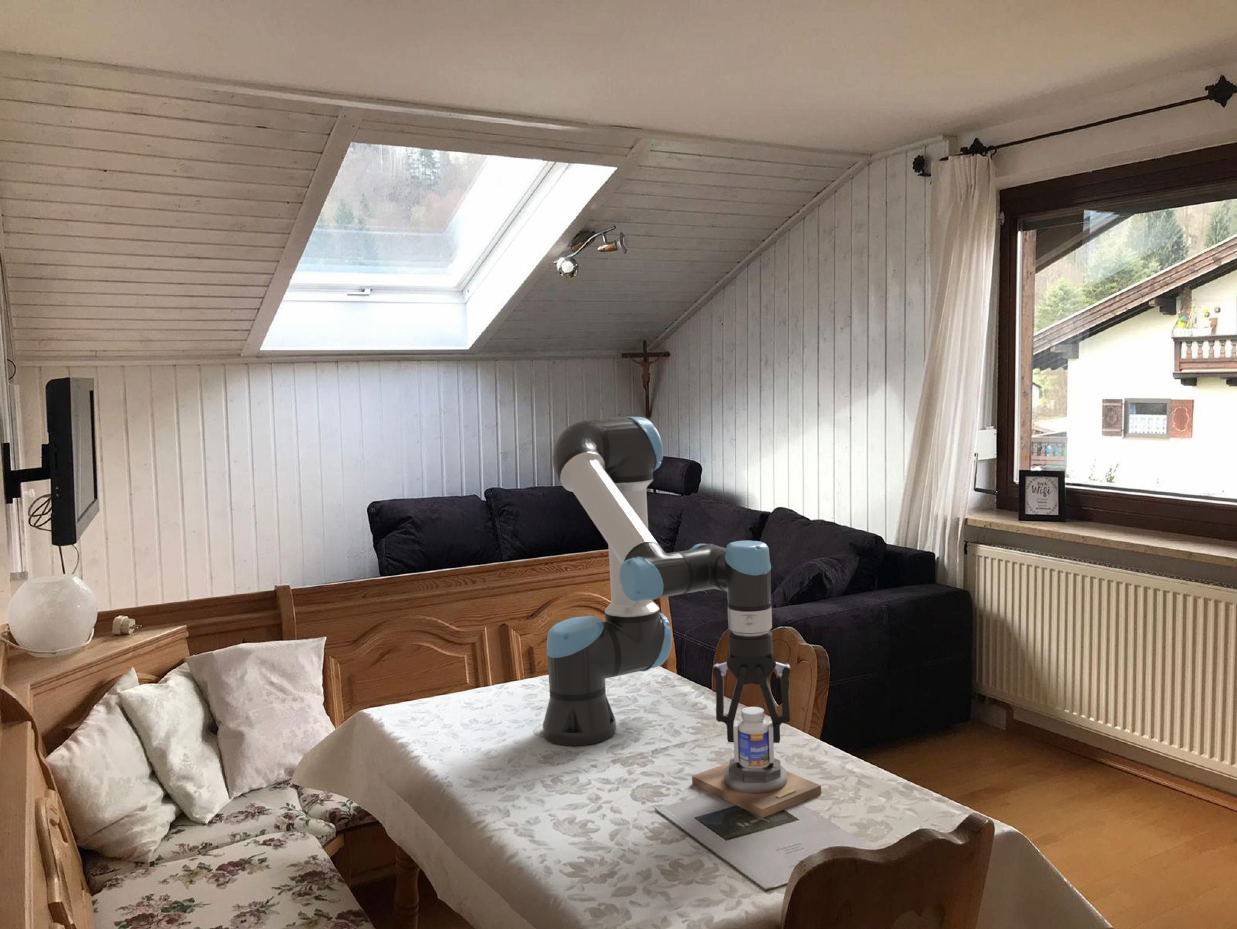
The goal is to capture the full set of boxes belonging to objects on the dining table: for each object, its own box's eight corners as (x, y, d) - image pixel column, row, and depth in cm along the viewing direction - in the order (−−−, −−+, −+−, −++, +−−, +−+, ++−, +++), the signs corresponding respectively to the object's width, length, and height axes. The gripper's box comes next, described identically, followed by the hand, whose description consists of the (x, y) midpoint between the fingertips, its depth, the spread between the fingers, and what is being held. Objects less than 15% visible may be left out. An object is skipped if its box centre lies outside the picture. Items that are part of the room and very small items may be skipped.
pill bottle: (753, 772, 170) (751, 718, 169) (732, 763, 175) (730, 709, 174) (776, 764, 173) (775, 710, 172) (755, 755, 178) (754, 702, 177)
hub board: (692, 783, 178) (691, 759, 177) (749, 763, 186) (748, 739, 185) (762, 818, 163) (761, 791, 163) (821, 793, 171) (820, 768, 171)
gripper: (695, 636, 170) (700, 767, 172) (804, 636, 167) (808, 769, 169) (698, 625, 177) (703, 750, 179) (803, 624, 174) (806, 752, 176)
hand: (754, 759), depth 174 cm, fingers closed on pill bottle, 5 cm apart
